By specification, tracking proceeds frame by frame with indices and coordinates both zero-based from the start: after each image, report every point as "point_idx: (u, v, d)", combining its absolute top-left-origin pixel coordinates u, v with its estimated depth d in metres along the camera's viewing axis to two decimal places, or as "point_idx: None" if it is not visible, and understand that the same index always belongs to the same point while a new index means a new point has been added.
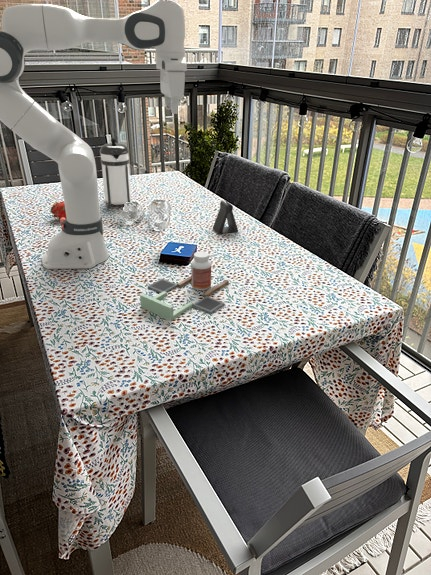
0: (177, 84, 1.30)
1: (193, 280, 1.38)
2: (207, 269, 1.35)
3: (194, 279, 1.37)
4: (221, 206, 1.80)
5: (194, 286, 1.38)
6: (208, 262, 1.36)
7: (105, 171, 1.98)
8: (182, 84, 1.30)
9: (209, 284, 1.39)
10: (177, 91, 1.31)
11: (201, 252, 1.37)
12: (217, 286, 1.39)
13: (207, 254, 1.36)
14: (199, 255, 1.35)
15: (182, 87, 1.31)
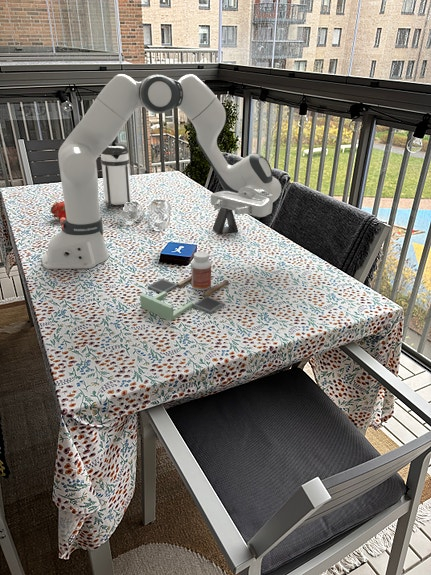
0: (267, 209, 1.40)
1: (193, 280, 1.38)
2: (207, 269, 1.35)
3: (194, 279, 1.37)
4: None
5: (194, 286, 1.38)
6: (208, 262, 1.36)
7: (105, 171, 1.98)
8: (266, 213, 1.41)
9: (209, 284, 1.39)
10: (264, 210, 1.39)
11: (201, 252, 1.37)
12: (217, 286, 1.39)
13: (207, 254, 1.36)
14: (199, 255, 1.35)
15: (265, 214, 1.40)
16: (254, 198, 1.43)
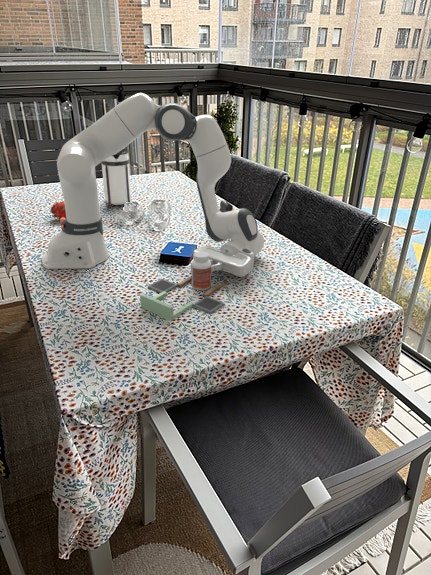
0: (248, 268, 1.42)
1: (193, 280, 1.38)
2: (207, 269, 1.35)
3: (194, 279, 1.37)
4: (221, 206, 1.80)
5: (194, 286, 1.38)
6: (208, 262, 1.36)
7: (105, 171, 1.98)
8: (247, 272, 1.43)
9: (209, 284, 1.39)
10: (245, 270, 1.40)
11: (201, 252, 1.37)
12: (217, 286, 1.39)
13: (207, 254, 1.36)
14: (199, 255, 1.35)
15: (246, 273, 1.42)
16: (235, 256, 1.45)
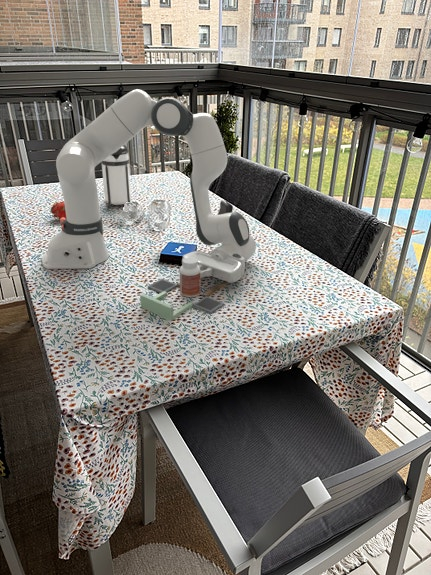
0: (238, 274, 1.38)
1: (181, 287, 1.34)
2: (196, 275, 1.31)
3: (182, 285, 1.33)
4: (221, 206, 1.80)
5: (182, 293, 1.34)
6: (197, 268, 1.32)
7: (105, 171, 1.98)
8: (238, 278, 1.39)
9: (198, 291, 1.35)
10: (235, 276, 1.36)
11: (190, 258, 1.33)
12: (217, 286, 1.39)
13: (196, 260, 1.32)
14: (188, 261, 1.31)
15: (237, 279, 1.38)
16: (226, 261, 1.41)
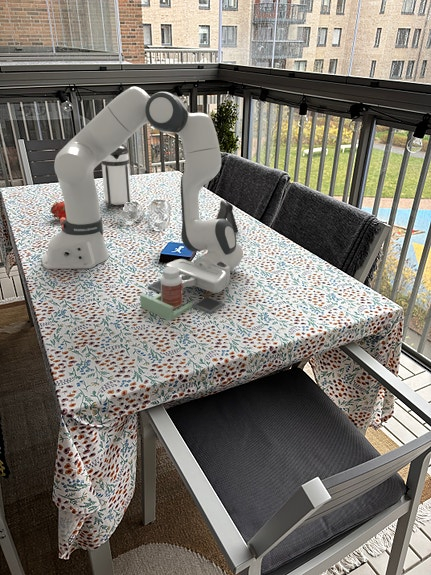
0: (223, 283, 1.32)
1: (162, 297, 1.28)
2: (177, 286, 1.25)
3: (163, 296, 1.27)
4: (221, 206, 1.80)
5: None
6: (178, 278, 1.26)
7: (105, 171, 1.98)
8: (222, 288, 1.33)
9: (180, 302, 1.29)
10: (220, 286, 1.30)
11: (171, 267, 1.27)
12: None
13: (177, 270, 1.25)
14: (168, 270, 1.25)
15: (221, 289, 1.32)
16: (210, 270, 1.35)
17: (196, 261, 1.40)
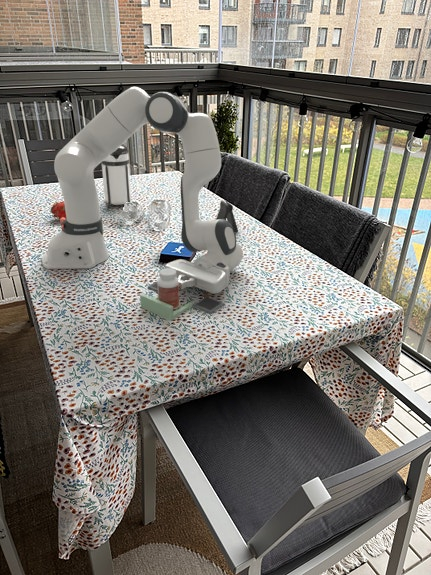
0: (222, 284, 1.32)
1: (159, 299, 1.27)
2: (174, 288, 1.24)
3: (160, 298, 1.26)
4: (221, 206, 1.80)
5: None
6: (175, 280, 1.25)
7: (105, 171, 1.98)
8: (222, 288, 1.32)
9: (176, 304, 1.28)
10: (219, 286, 1.30)
11: (168, 269, 1.26)
12: None
13: (174, 272, 1.25)
14: (165, 272, 1.24)
15: (221, 289, 1.32)
16: (210, 271, 1.35)
17: (196, 261, 1.40)
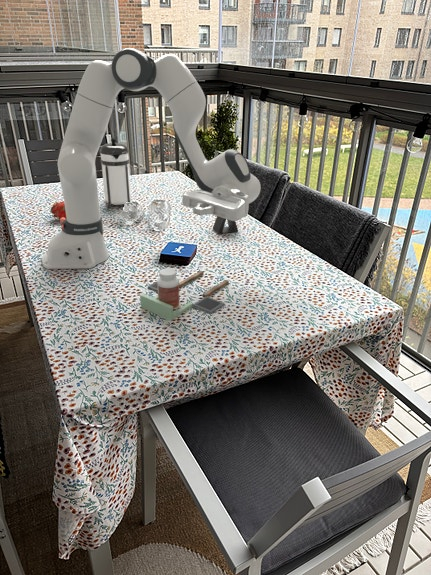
0: (242, 212, 1.29)
1: (159, 299, 1.27)
2: (174, 288, 1.24)
3: (160, 298, 1.26)
4: None
5: None
6: (175, 280, 1.25)
7: (105, 171, 1.98)
8: (241, 217, 1.30)
9: (176, 304, 1.28)
10: (239, 214, 1.28)
11: (168, 269, 1.26)
12: (217, 286, 1.39)
13: (174, 272, 1.25)
14: (165, 272, 1.24)
15: (240, 217, 1.29)
16: (228, 199, 1.32)
17: (214, 191, 1.37)
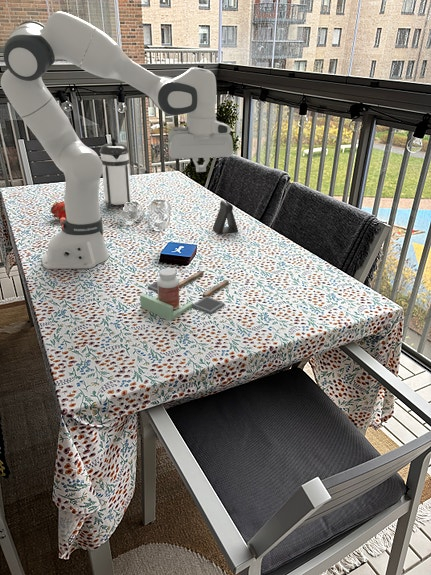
0: None
1: (159, 299, 1.27)
2: (174, 288, 1.24)
3: (160, 298, 1.26)
4: (221, 206, 1.80)
5: None
6: (175, 280, 1.25)
7: (105, 171, 1.98)
8: None
9: (176, 304, 1.28)
10: None
11: (168, 269, 1.26)
12: (217, 286, 1.39)
13: (174, 272, 1.25)
14: (165, 272, 1.24)
15: None
16: (214, 139, 1.38)
17: None
